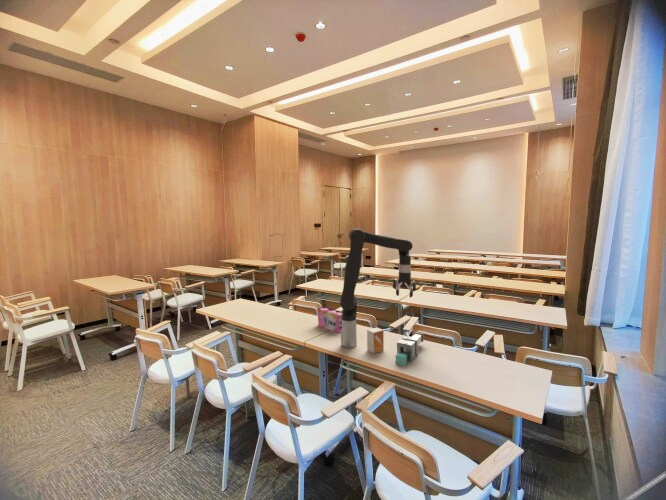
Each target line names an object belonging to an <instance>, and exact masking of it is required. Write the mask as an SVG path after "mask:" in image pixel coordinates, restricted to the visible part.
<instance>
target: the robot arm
mask: <svg viewBox="0 0 666 500" xmlns="http://www.w3.org/2000/svg"><path fill="white" fill-rule="evenodd" d="M348 237H349V240H350V246H349V254H348V256H347V260H346V262H345V268H344V278H343V288H342V293H341V297H340V301H339V305H340V307H341V308H342V312H343V313H342V330H341V331H340V345H341V346H342V347H344V348H346V349H347V348H348V349H352V348H355V347H357V344H358V342H357V313H358V309H357V308H358V301H357V297H356V296H355V290H356V287H357V283H358V281H359V277H360V272H361V264H362V253H363V247H364V244H365V243H367V244H371V245H376V246H379V247H382V248H388V249H393V250H394V249H395V250H398V255H399V261H398V262H399V264H398V265H399V266H398V279H396V278H395V279H393V287H392V288H393V289H394V290H395V294H396V296H397V297H398V296H400V288H407V289H408V291H409V298H412V297H413V295H414V292H415V291H416V290H417V283H416V280H414V281H413V280H412V279H411V278H412V276H411V275H412V265H411V263H412V261H411V260H412V259H411V258H412V257H411V255H410V251H411V250H412V249H413V243H412V241H410V240H409V239H403V238H402V239H401V238H396V237H392V236H387V235H381V234H374V233H371V232H367V231H364V230H362V229H360V228H353V229H351V230H350V231H349V234H348ZM397 283H398V285H397ZM411 285H412V286H411Z"/></svg>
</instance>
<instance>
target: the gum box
mask: <svg viewBox="0 0 666 500" xmlns="http://www.w3.org/2000/svg"><path fill="white" fill-rule="evenodd" d="M342 313H343V311H341V310H337V309H334V308H330V307H327V306H323V307H318V308H317V319H318V320H317V325H318V326H320V327H321V328H324V329H327V330H329V331H332V332H334V333H341V330H342Z"/></svg>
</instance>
